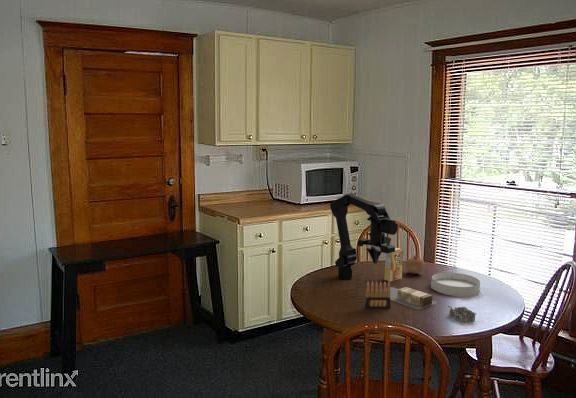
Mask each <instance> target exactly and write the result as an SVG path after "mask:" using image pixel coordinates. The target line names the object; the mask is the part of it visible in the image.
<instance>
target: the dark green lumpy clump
mask: <svg viewBox="0 0 576 398" xmlns="http://www.w3.org/2000/svg"><path fill="white" fill-rule="evenodd" d="M448 308H450V309H449V313H448V315H449V317H453V318H454V320H459V323H463V324H468V322H469V323H475V321H476V315H477V313H475V312H474V311H473V310H470V309H468V308H467V307H466V306H458V307H456V306H455V307H454V308H453V307H452V306H451V305H448Z"/></svg>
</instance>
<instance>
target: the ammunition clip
mask: <svg viewBox="0 0 576 398" xmlns="http://www.w3.org/2000/svg"><path fill="white" fill-rule="evenodd" d="M390 287H391V282H390V281H387V283H386V280H384V282H383V283H382V281H381V280H380V281H379V284H378V281H377V280H376V281H375V283H374V281H373V280H371V284H370V282H369V280H368V281H367V282H366V288H365V300H364V309H365V310H377V309H391V300H390V293H391V291H390ZM386 288H387V295H386ZM382 290H383V293H382Z"/></svg>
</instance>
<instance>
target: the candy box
mask: <svg viewBox="0 0 576 398" xmlns="http://www.w3.org/2000/svg"><path fill="white" fill-rule="evenodd" d="M403 256H404V249H402V248H399V247H395V252H391V253H385V260H384V263H385V264H384V276H383V277H384V278H383V280H384V281H387V282H390V283H391V282H393V281H394V282H395V281H397V280H402V276H403V259H404V257H403Z"/></svg>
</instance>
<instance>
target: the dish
mask: <svg viewBox="0 0 576 398" xmlns="http://www.w3.org/2000/svg"><path fill="white" fill-rule="evenodd" d="M480 281H481V280H480V279H478V278H477V277H474V276H472V275H469V274H465V273H459V272H439V273H435V274H433V275H432V276H431V282H430V288H431V290H433V291H436V292H437V293H441V294H443V295H448V296H453V297H456V298H471V297H475V296H478V295H479V294H480V293H481V282H480Z"/></svg>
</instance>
